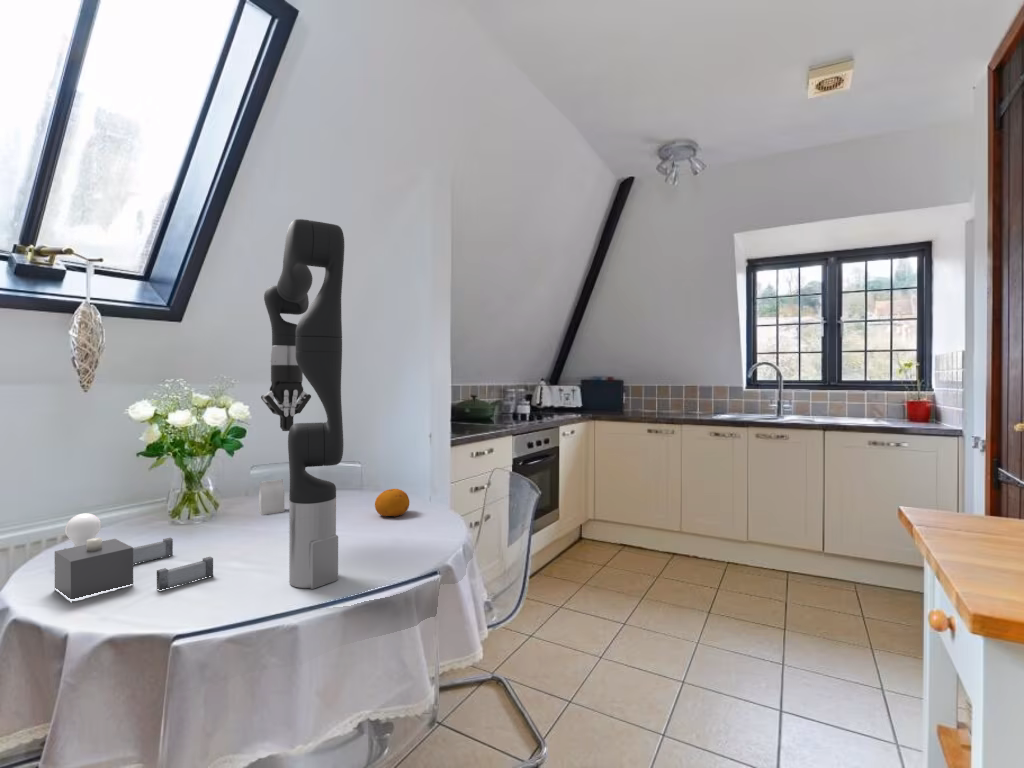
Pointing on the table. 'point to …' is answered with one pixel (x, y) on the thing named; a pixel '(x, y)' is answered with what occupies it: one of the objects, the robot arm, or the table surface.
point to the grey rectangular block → (271, 497)
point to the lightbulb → (82, 528)
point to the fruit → (392, 502)
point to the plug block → (93, 567)
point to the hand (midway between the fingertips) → (286, 430)
